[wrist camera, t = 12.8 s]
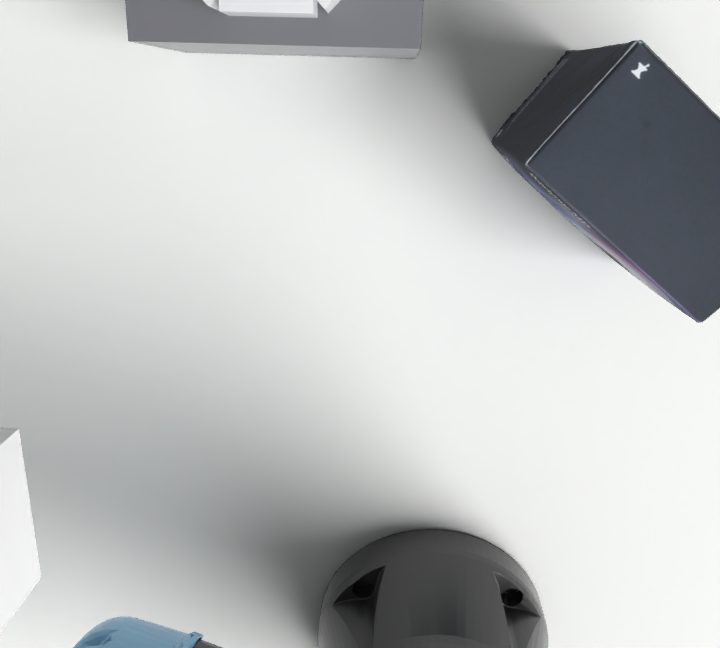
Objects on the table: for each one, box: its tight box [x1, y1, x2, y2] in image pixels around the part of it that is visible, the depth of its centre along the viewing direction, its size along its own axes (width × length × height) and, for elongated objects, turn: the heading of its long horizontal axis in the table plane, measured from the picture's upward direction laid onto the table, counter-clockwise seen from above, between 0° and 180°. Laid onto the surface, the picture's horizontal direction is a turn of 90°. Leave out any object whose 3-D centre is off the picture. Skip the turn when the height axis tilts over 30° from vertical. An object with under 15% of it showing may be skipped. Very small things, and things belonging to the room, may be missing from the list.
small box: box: [491, 40, 720, 323], centre depth 31 cm, size 11×6×10 cm, turn 50°
